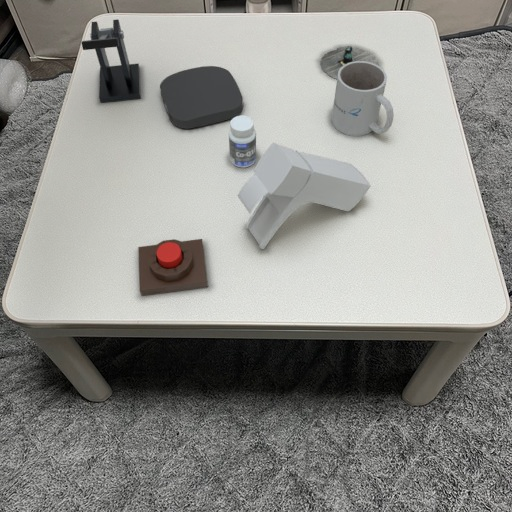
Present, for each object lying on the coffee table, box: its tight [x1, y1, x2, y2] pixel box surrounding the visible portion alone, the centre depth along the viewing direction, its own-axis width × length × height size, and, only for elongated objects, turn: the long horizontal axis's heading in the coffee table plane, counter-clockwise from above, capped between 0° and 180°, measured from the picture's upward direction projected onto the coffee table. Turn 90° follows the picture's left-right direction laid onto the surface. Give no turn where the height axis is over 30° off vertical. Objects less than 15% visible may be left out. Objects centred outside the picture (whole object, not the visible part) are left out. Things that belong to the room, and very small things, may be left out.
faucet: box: [236, 141, 371, 250], centre depth 81 cm, size 6×16×20 cm
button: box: [157, 242, 182, 268], centre depth 77 cm, size 4×4×2 cm
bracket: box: [89, 18, 142, 104], centre depth 101 cm, size 10×8×13 cm
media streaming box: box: [159, 65, 244, 129], centre depth 101 cm, size 15×15×3 cm
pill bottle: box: [228, 115, 257, 168], centre depth 90 cm, size 5×5×8 cm
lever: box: [81, 27, 119, 51], centre depth 93 cm, size 12×6×2 cm, turn 9°
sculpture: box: [319, 45, 381, 80], centre depth 109 cm, size 12×9×8 cm
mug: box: [331, 61, 394, 137], centre depth 94 cm, size 12×9×10 cm
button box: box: [138, 238, 209, 297], centre depth 79 cm, size 10×8×4 cm
